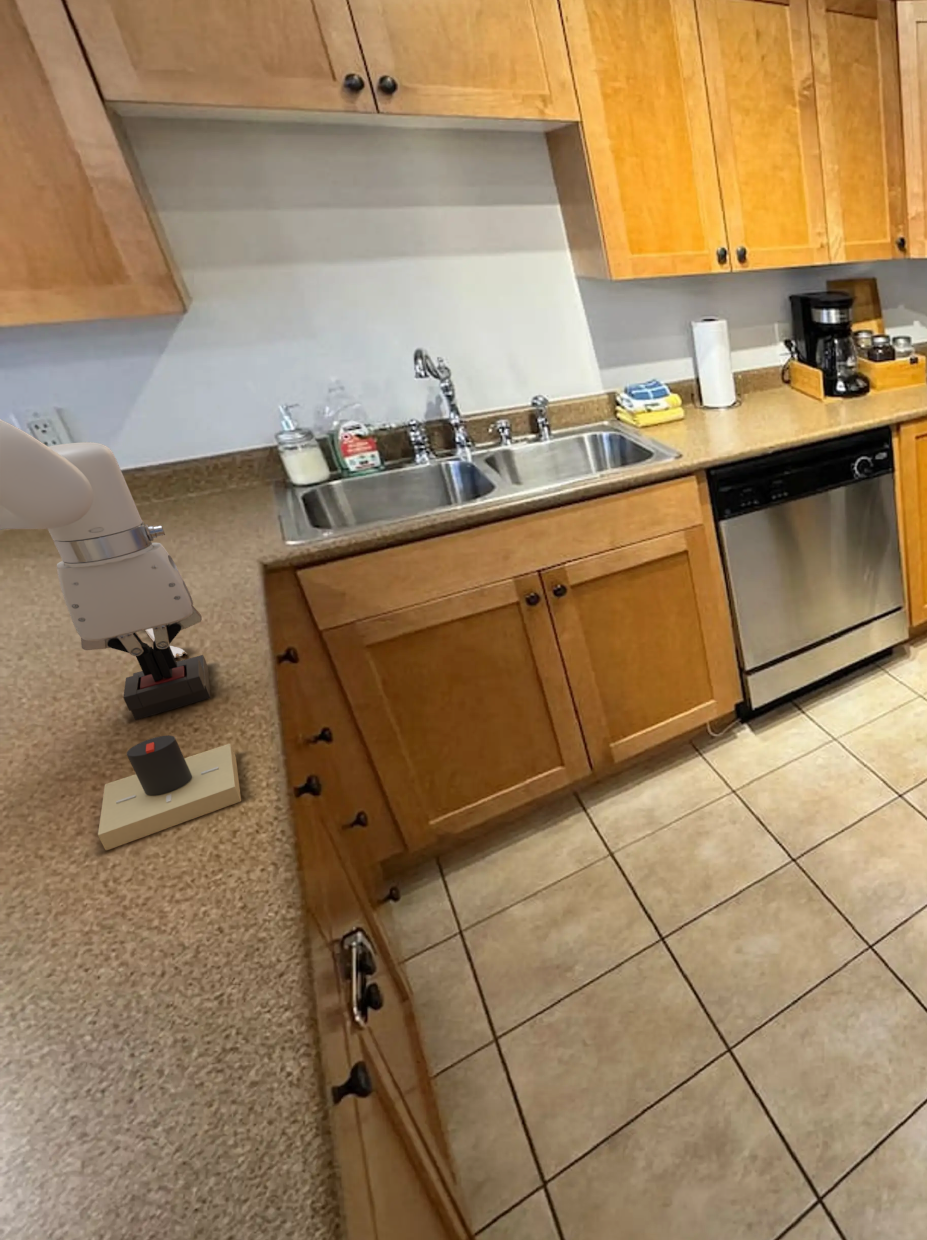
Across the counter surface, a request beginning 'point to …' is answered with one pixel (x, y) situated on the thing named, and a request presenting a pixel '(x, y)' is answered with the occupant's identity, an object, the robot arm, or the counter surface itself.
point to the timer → (168, 799)
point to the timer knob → (159, 765)
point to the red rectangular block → (176, 674)
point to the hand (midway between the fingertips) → (163, 675)
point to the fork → (175, 650)
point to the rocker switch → (168, 690)
